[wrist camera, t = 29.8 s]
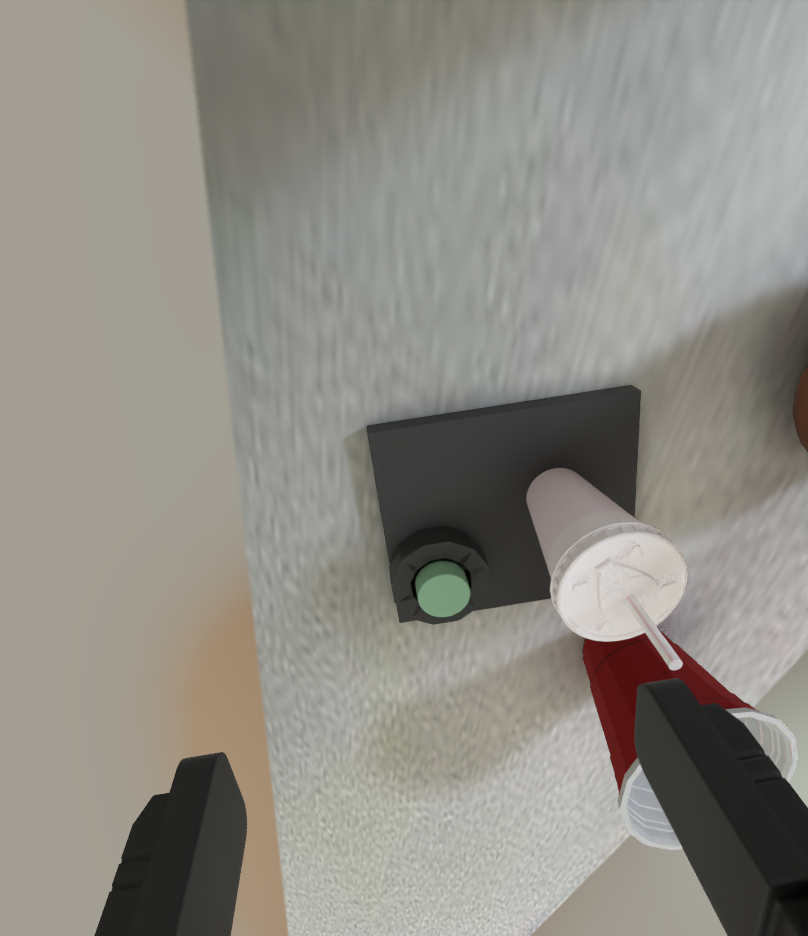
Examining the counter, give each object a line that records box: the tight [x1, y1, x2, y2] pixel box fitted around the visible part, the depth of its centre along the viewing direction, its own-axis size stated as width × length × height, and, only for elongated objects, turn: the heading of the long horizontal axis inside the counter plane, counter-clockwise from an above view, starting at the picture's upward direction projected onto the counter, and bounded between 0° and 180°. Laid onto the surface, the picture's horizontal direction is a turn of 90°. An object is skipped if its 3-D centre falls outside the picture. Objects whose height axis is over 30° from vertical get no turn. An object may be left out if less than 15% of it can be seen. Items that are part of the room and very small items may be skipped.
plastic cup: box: [583, 630, 798, 850], centre depth 38 cm, size 11×11×12 cm
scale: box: [367, 385, 641, 624], centre depth 36 cm, size 14×16×3 cm
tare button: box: [415, 560, 470, 617], centre depth 35 cm, size 3×3×2 cm
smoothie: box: [526, 468, 688, 670], centre depth 29 cm, size 6×6×14 cm
